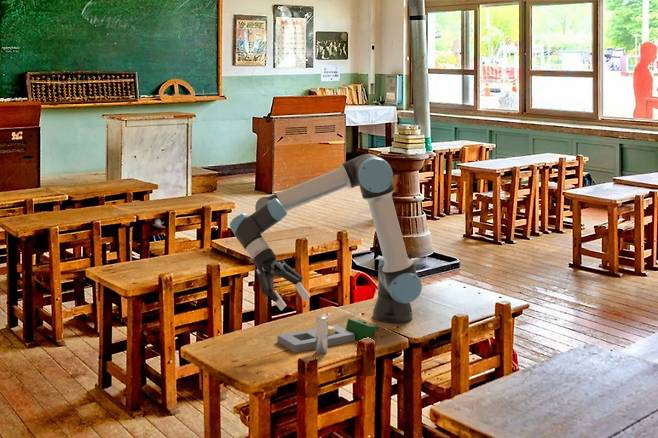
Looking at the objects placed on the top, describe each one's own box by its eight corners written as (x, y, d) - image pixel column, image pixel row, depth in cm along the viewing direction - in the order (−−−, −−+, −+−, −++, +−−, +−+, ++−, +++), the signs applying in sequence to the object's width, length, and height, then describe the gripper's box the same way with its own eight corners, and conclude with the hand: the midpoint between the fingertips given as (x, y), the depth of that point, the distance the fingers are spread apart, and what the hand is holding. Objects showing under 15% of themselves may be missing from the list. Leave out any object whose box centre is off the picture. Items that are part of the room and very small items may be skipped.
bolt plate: (336, 331, 295) (336, 320, 295) (354, 340, 285) (355, 329, 285) (277, 341, 283) (277, 330, 282) (294, 352, 273) (294, 340, 272)
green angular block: (372, 351, 288) (384, 330, 286) (360, 350, 284) (372, 329, 282) (354, 330, 297) (365, 309, 294) (342, 329, 293) (353, 308, 290)
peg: (323, 349, 276) (324, 315, 274) (329, 352, 273) (330, 318, 271) (313, 351, 274) (313, 316, 272) (319, 354, 271) (320, 319, 269)
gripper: (277, 253, 294) (310, 301, 289) (231, 267, 274) (266, 318, 268) (289, 241, 290) (323, 289, 285) (243, 253, 270) (279, 305, 265)
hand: (296, 303), depth 277 cm, fingers open, 13 cm apart
